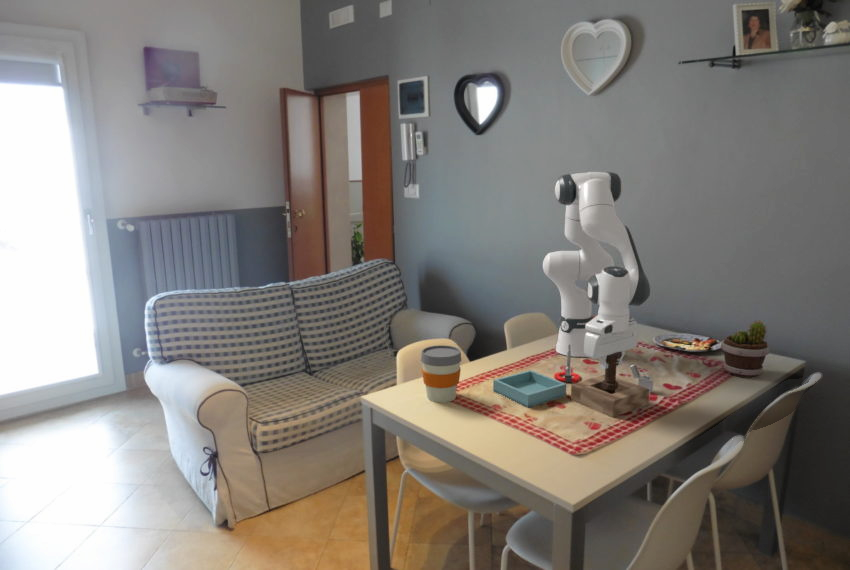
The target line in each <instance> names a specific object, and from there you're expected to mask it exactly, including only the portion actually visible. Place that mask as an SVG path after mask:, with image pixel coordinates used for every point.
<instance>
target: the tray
mask: <svg viewBox="0 0 850 570" xmlns="http://www.w3.org/2000/svg"><path fill="white" fill-rule="evenodd" d="M492 383H493V386H492V387H493V388H492V391H494V392H493V393H495V392H496V393H495V394H497V393H498V394H497V395H499V394H501V395H503V396H505V397H504V398H506V397H507V398H506V399H508V398H509V399H508V400H510V399H511V400H510V401H512V402H514V401H515V402H514V403H516V402H517V403H516V404H518V403H519V405H520V404H521V406H523V407H525V408H527V407H528V408H527V409H529V408H532V406H533V407H535V405H536V406H539V405H541V404H545V402H546V403H548V401H549V402H551V401H555V400H559V399H562V398H565V397H566V396H567V383H565V382H560V381H558V379H556V378H553V377H550V376H547V375H545V374H543V373H539V372H538V371H537V372H536V371H534V370H532V369H530V370H526V371H522V372H518V373H515V374H510V375H507V376H502V377H499V378H494V379H493V381H492ZM501 395H500V396H501ZM503 396H502V397H503ZM564 396H565V397H564ZM561 397H562V398H561ZM558 398H559V399H558ZM538 404H539V405H538Z"/></svg>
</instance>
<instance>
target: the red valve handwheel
mask: <svg viewBox="0 0 850 570" xmlns="http://www.w3.org/2000/svg"><path fill="white" fill-rule="evenodd" d="M570 347H571V345H568V351H567V355H566V367H565V371H560V372H556V373H554V375H553V377H554V379H555V380H557V381H560V382H563V383H565V382H566V383H565V384H575V383H578V382H580V379H581V376H580V374H578V373H576V372H572V367H571V359H572V356H571V351H570ZM560 375H561V376H560ZM573 376H574V377H573Z"/></svg>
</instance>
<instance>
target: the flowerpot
mask: <svg viewBox="0 0 850 570" xmlns="http://www.w3.org/2000/svg"><path fill="white" fill-rule="evenodd" d="M761 319H762V318H759V320H758V319H754V321H753V322H752V323H751V324H749V326H748V327H749V329H748V328H747V329H741V328H740V329H739V330H738V331H736V332H735V333H734V334H732V335H728V336H726V338H725V339H723V340H721V349H720V350H723V356H724V361H723V368H724V369H725V370H727V371H726V372H727V373H728V372H730V373H732V374H733V375H732V374H731V375H732V376H734V375H735V377H739V378H744V377H745V378H747V379H748V378H749V379H752V377H753V378H756V376H757V377H758V376H760V374H762V373H763V370H764V366H763V364H764V362H765V359H766V356H768V355H769V354H770V352H771V351H770V350H771V349H770V348H771V347H770V345H769V344H768V342H767V341H765V340H766V339H767V337H768V336H767V334H768V330H767V329H768V328H766V327H767V325H766V324H765V322H763V321H760V320H761ZM764 324H765V325H764Z"/></svg>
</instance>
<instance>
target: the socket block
mask: <svg viewBox="0 0 850 570" xmlns="http://www.w3.org/2000/svg"><path fill="white" fill-rule="evenodd" d="M603 380H605V374H602V375H598V376H596V377H592V378H589V379H585V380H581V381H579V382H578V383H570V384H571V387H570V389H571V390H570V400H571V401H572V400H573V401H572V402H575V403H577V404H579V403H580V405H582V406H584V405H585V406H584V407H587V408H589V407H590V408H589V409H591V408H592V410H594V409H595V410H594V411H596V412H598V411H599V412H598V413H601V414H604V415H606V416H609V417H611V418H615V417H618V416H620V415H623V414H627V413H630V412H632V411H634V410H638V409H641V408H644V407H646V406H645V405H647V406H649V405H648V404H649V403H650V393H649V389H648V388H645V387H642V386H640V385H638V383H633V382H631V381H628V380H625V379H622V378H620V377H617V376H616V381H617V382H618V388H617V389H616V390H615V393H614V394H610V393H608V392H605V391H604V388H602V386H601V385H602V381H603ZM643 406H644V407H643ZM640 407H641V408H640ZM629 411H630V412H629Z"/></svg>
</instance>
